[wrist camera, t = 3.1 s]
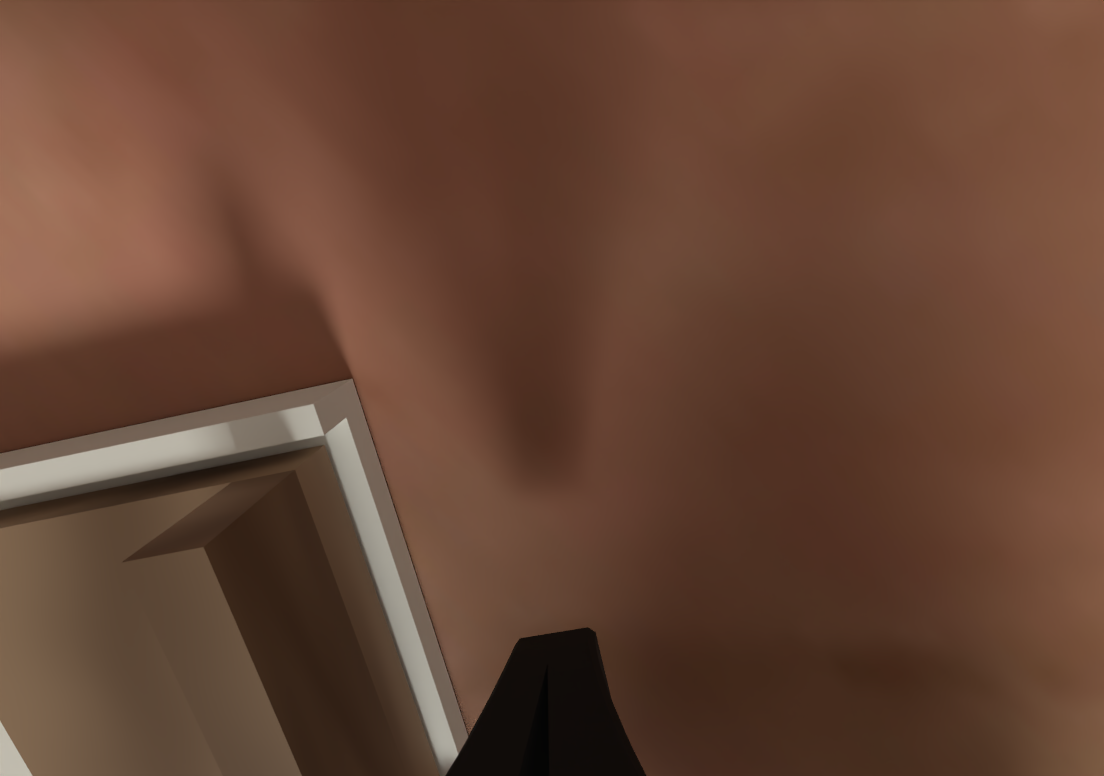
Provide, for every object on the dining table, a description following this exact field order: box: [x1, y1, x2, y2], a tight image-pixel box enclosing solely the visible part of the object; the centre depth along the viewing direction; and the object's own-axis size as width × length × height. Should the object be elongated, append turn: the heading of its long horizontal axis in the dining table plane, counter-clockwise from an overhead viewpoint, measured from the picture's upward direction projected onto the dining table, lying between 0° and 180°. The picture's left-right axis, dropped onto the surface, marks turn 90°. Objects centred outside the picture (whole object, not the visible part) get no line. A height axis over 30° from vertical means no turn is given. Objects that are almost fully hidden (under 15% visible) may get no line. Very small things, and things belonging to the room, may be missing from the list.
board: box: [0, 379, 468, 776], centre depth 13 cm, size 18×11×3 cm, turn 103°
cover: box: [0, 445, 440, 776], centre depth 11 cm, size 8×9×4 cm
